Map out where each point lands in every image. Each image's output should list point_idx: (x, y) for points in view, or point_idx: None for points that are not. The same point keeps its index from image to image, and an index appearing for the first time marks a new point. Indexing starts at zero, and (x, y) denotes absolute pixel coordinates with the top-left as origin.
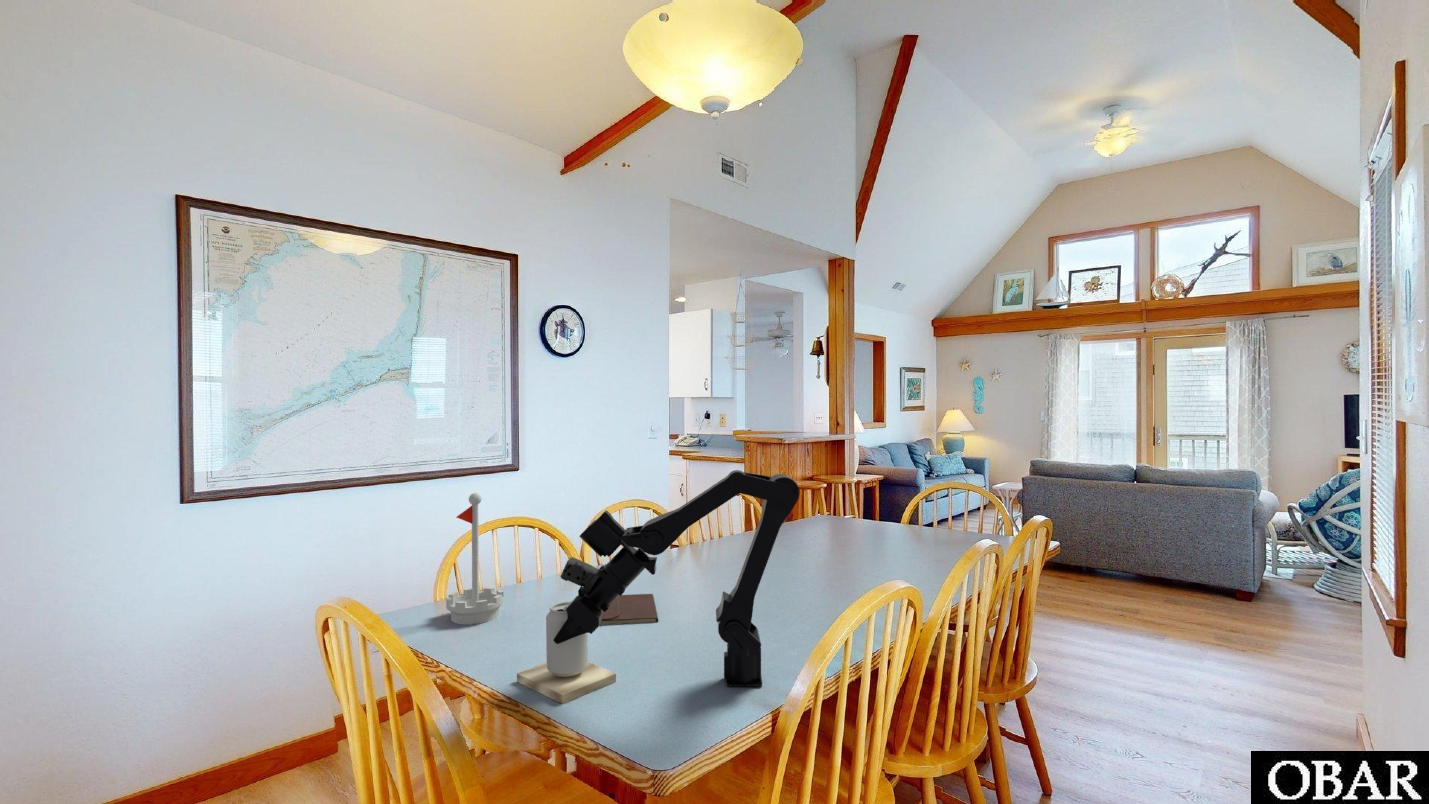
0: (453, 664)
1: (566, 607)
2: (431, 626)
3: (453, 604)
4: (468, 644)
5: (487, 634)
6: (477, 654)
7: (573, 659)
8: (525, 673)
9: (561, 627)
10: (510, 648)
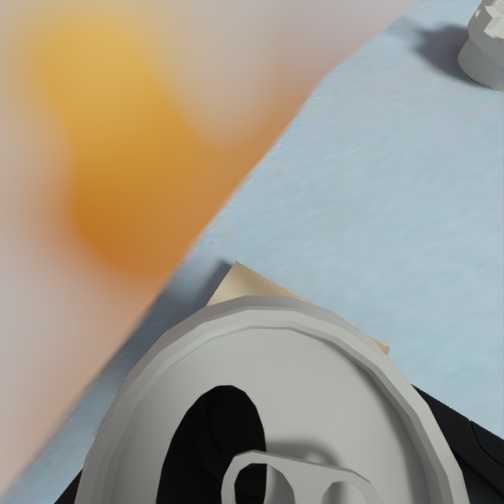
0: (291, 128)
1: (292, 481)
2: (425, 38)
3: (501, 15)
4: (382, 110)
5: (440, 115)
6: (345, 141)
7: (193, 478)
8: (239, 280)
9: (74, 498)
10: (397, 179)
